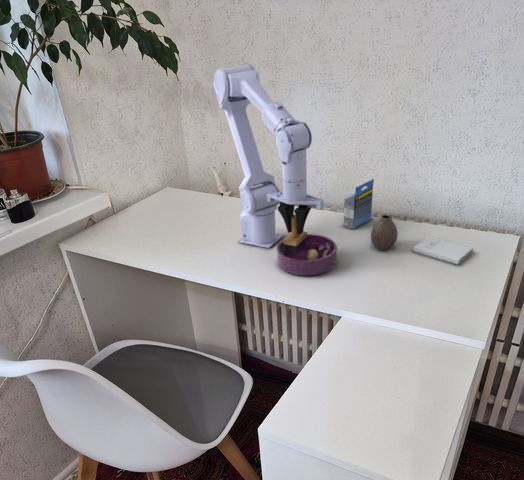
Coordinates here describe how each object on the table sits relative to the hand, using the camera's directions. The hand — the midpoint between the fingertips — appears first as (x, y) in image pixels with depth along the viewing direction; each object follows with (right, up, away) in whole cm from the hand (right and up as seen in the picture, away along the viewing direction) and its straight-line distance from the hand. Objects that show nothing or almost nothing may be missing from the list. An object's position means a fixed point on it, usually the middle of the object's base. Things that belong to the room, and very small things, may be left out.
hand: (295, 232), depth 129 cm
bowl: (+3, -7, +4) cm, 9 cm away
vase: (+24, -2, +8) cm, 26 cm away
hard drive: (+39, -5, +4) cm, 39 cm away
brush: (0, -3, +3) cm, 4 cm away
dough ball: (+5, -5, +2) cm, 7 cm away
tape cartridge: (+20, +7, +21) cm, 30 cm away
